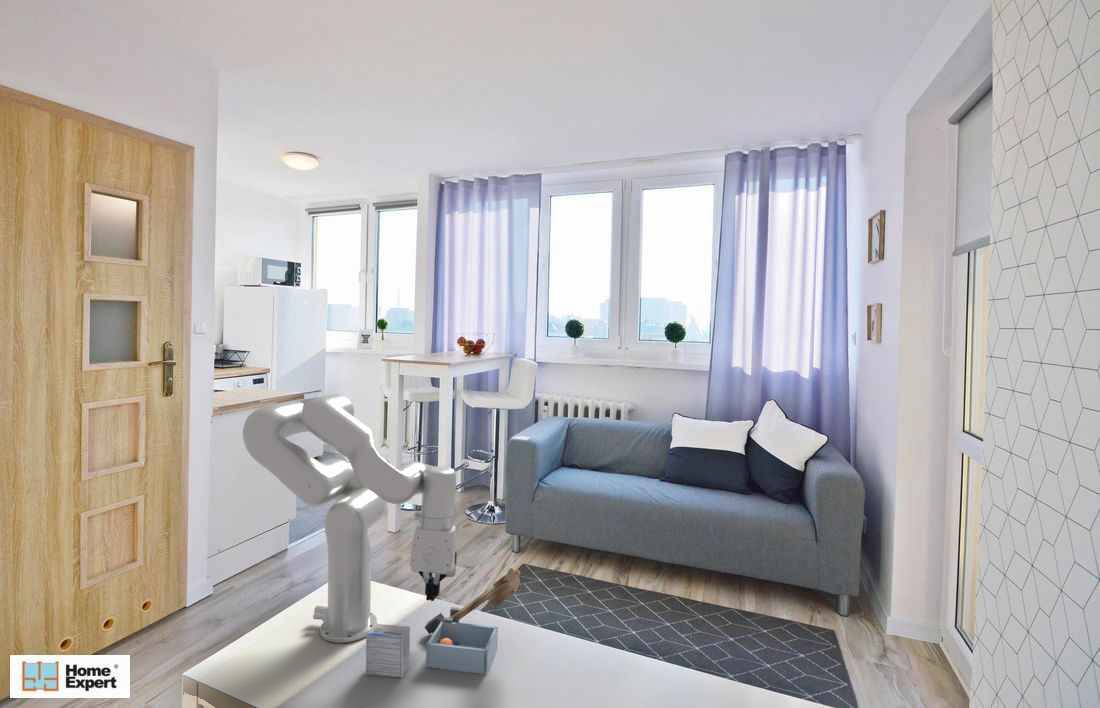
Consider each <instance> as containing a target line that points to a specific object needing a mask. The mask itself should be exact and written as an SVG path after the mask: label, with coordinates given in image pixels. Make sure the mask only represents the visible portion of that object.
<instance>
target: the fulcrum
mask: <svg viewBox="0 0 1100 708" xmlns="http://www.w3.org/2000/svg"><path fill="white" fill-rule="evenodd" d="M460 609H461V608H460V607H453V606H452V607H450V609H449V611H450V612H449V617H451V616H452V615H453V614H455V613H456V612H458V611H459V610H460ZM449 617H447V616H446V617H445V616H444V622H446V623H452V622H453V618H449ZM456 623H460V620H458V621H457V622H456ZM452 643H453V645H459V644H460V643H458V642H452Z"/></svg>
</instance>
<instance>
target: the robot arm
mask: <svg viewBox="0 0 1100 708" xmlns="http://www.w3.org/2000/svg"><path fill="white" fill-rule="evenodd" d="M242 428H243V429H242V439H243V443H244V447H245V448H246V451H247V453H249V455H250V456H251V457H252V459H254V460H255V461H256V462H257V463H258V464H260V465H261V466H262V467H263V468H265V469H266V470H267V471H269V473H270V474H272V475H274V476H275V478H276V479H278V480H279V481H280V483H282V485H284V486H285V487H286V488H287V489H288V490H289V491H290V492H292V493H293V494H294V495H295V496H296V497H297V498H298V499H299V500H301V502H303V503H304V504H306V505H307V506H309V507H310V508H311V507H312V508H318V507H323V506H324V505H327V504H329V503H330V502H332V501H334V500H335V501H336V502H334V504H333V505H331V507H330V508H329V509H328V510H327V512H326V514H325V518H324V532H325V537H326V544H327V574H328V575H327V606H323V605H316V606H315V608H314V610H313V613H314V614H313V615H312V616H313V617H312V618H313V620H320V621H322V623H321V625H320V630H319V631H320V632H319V633H320V634H319V635H320V636H321V638H322V639H323V640H325V641H327V642H330V643H337V644H338V643H340V644H344V643H351V642H354V641H355V642H356V641H359V640H361V639H364V638H366V635H367V634H368V632H369V631H370V630H371V629H372V627H373V626H374V625H375V624H378V618H377V616H376V614H374V613H372V612H371V598H372V597H371V594H372V592H371V588H372V587H371V585H372V584H371V582H372V581H371V580H372V574H371V573H372V549H371V544H370V541H369V540H370V539H369V535H368V532H369V531H368V529H369V528H371V527H372V526H373V525H375V523H377V521H379V520H380V519H381V518H382V517H383V516H384V513H385V512H386V508H387V503H389V504H392V505H402V504H405V503H407V502H409V501H410V500H411V499H412V498H413V497H414V496H416V495H419V494H421V498H422V499H421V512H418V513H415V515H414V519H415V520H418V521H419V524H418V525H416V527H415V531H414V534H413V539H412V546H411V550H410V551H411V553H410V559H409V565H410V569H411V572H414V573H417V574H419V575H420V577H422V579H423V583H425V587H424V595H426V599H425V600H426V601H431V602H434V601H435V600H436V597H439V595H440V590H441V589H440V588H441V582H442V581H443V580H445V578H453V577H455V576H456V575H457V568H456V567H457V564H458V534H457V533H458V532H457V528H456V525H454V517H455V501H456V491H457V490H456V489H457V488H456V487H457V472H456V470H455V469H454V468H451V467H449V466H444V465H443V466H442V465H437V466H434V465H430V464H426V463H424V462H419V461H407V462H405V463H403V464H401V465H399V466H398V467H397V468H396V467H394V466H393V464H390V463H389V462H388V461H387V460H385V459H384V458H383V457H382V456H381V455H380V454H379V453H378V451H377V450H376V447H375V444H374V435H375V434H374V431H373V430H372V429H371V428H370V427H368V425H366V424H364V423H363V422H362V421H360V420H359V419H357V418H356V417H355V408H354V405H353V403H352V401H350V399H349V398H347V397H345V396H344V395H340V394H330V395H324V396H318V397H310V398H308V397H307V398H302V399H301V398H300V399H293V400H287V401H283V402H278V403H272V404H268V405H264V406H262V407H259V408H257V409H255V410H253V411H252V412H251V413H250V414H249V415H247V418H246V419H245V421H244V424H243V427H242ZM306 432H307V433H308V432H310V433H311V434H312V435H314V436H315V437H316V438H317V439H319V440H321V441H322V442H323V443H325V444H326V445H327V446H329V447H330V448H332V450H334V451H335V452H337V453H338V454H339V455H341V456H342V457H344V458H345V459H346V460H347V461H346V460H343V459H340V458H330V459H327V460H325V461H323V462H320V461H319V460H317V459H316V458H314V457H313V455H311V454H310V453H309V452H308V451H307V450H306V449H304V448H303V447H302V446H300V445H298V444H296V443H293V442H292V441H290V440H288V439H287V437H289V436H293V435H297V434H301V433H306Z"/></svg>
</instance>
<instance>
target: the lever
mask: <svg viewBox="0 0 1100 708" xmlns="http://www.w3.org/2000/svg"><path fill="white" fill-rule="evenodd" d="M521 574H522V573H521V570H520V569H519V568H516V570H515V569H513V568H512V567H511V568H509V569H508V570H507V573H506V574H504V576H502V577H501V578H500V579H498V580H496V581H495V582H494V583H493V584H492V587H490V588H488V589H487V590H486V591H485V592H483V593H481V594H480V595H479V596H478V597H476V598H475V599H473V600H472V601H471V602H469V603H467V604H466V605H465V606H463V607H462V608H460V610H459V611H458V612H456V613H455V614H453V615H452V616H451V617H450V616H449V617H448V618H453V622H457V621H458V620H459V621H460V620H462V618H464V617H465V616H467V615H468V614H469V613H472V612H473V611H474V610H475V609H477V608H478V607H479V606H480V605H483V603H486V602H487V601H488V602H489V603H490V605H492V606H493V608H495V607H497V606H499V605H500V604H502V603H503V602H505V601H506V600H507V599H508V598H510V597H512V596H513V595H515V593H516V592H517V590H518V588H519V586H520V583H521V578H520V576H521ZM444 618H445V616H444V615H443V614H442V612H440V613H439V614H437V615H436V616H434V617H432V618H431V619H430V620H429V621H427V623H426V624H425V626H424V629H425V630H426V632H427V633H428V635H431V634H433V633H434V632H435V630H436V629H437V627H438V626H439V624H440V623H441V621H444Z"/></svg>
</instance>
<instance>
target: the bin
mask: <svg viewBox="0 0 1100 708" xmlns="http://www.w3.org/2000/svg"><path fill="white" fill-rule="evenodd" d="M498 631H499V626H492V625H483V624H476V623H475V624H474V623H473V624H472V623H464V622H459V623H456V622H452V623H446V622H444V621H441V623H440V624H439V626H438V627H437V629H436V630H435V632H434V633H432V635H431V636H430V637H429V640H428V641H427V642H426V646H425V647H426V648H425V649H426V650H425V651H426V654H425V655H426V656H425V657H426V658H425V667H426V668H428V667H433V668H432V669H436V668H440V669H439V670H446V669H447V671H454V672H462V673H463V672H464V673H471V674H478V675H488V672H489V670H490V668H491V667H490V666H491V665H492V663H493V660H494V658H495V655H496V653H497V650H498V636H499V635H498V634H499V633H498ZM444 638H449V639H450V640H451V641H452V642H458V643H460V644H459V645H445V644H439V642H440V641H441V640H442V639H444Z"/></svg>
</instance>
